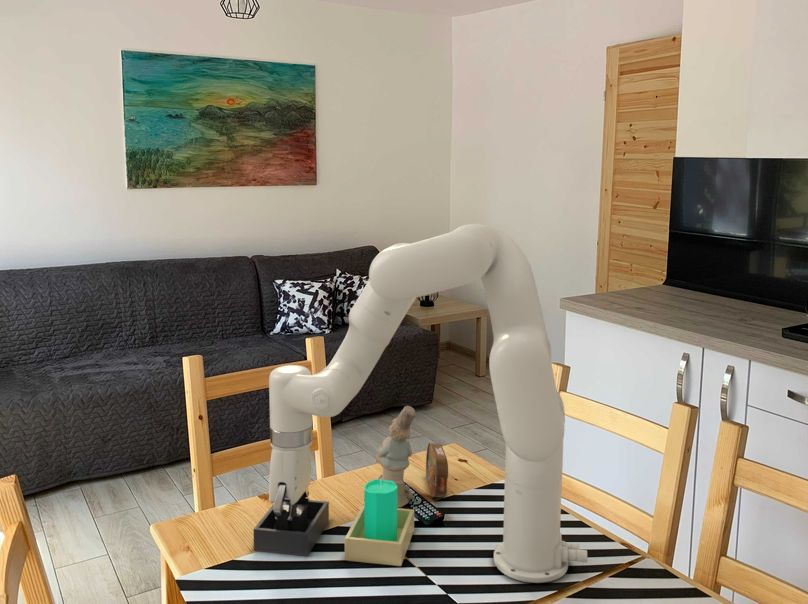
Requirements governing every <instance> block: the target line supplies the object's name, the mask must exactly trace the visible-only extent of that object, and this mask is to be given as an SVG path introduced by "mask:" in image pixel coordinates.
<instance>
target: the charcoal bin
mask: <svg viewBox="0 0 808 604" xmlns="http://www.w3.org/2000/svg"><path fill="white" fill-rule="evenodd" d="M284 501H288V502H290V501H291V500H290V499H289V498H285V499H284ZM273 506H274V503H272V505H271V506H270V508H269V509H268V511H266V513H265V514H264V515H263V516H262V518H261V519H260V520H259V522H258V523H257V524H256V525H255V527H254V528H253V551H255V552H263V553H264V552H265V553H272V554H273V553H275V554H283V555H292V556H300V557H308V556H309V555H310V553H311V552H312V550H313V548H314V547H315V545H316V543H318V540H319V539H320V536H321V535H322V533H324V530H325V529H326V527H327V525H328V524H329V522H330V502H329V501H325V500H315V499H309V518H308V528H307V530H306V531H305V532H296V531H286V530H276V519H275V514H274V511H273Z"/></svg>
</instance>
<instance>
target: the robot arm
mask: <svg viewBox="0 0 808 604" xmlns="http://www.w3.org/2000/svg"><path fill="white" fill-rule="evenodd" d="M478 280H480V281H481V282H482V285H483V288H484V293H485V294H484V295H485V300H486V306H487V309H488V314H489V319H490V324H491V329H492V337H493V341H492V346H491V350H490V353H489V357H488V358H489V359H488V360H489V361H488V368H489V369H488V370H489V375H490V381H491V386H492V391H493V395H494V401H495V406H496V411H497V415H498V420H499V425H500V431H501V434H502V437H503V440H504V442H505V458H504V459H505V460H504V491H503V492H504V493H503V494H504V495H503V501H504V502H503V527H502V529H503V533H502V534H503V535H502V542H501V543H500V544H498V545H497V546H496V547H495V549H494V551H493V563H494V565H495V567H496V568H497V570H498V571H500V572H501V573H502V574H504V575H505V576H507V577H508V578H511V579H514V580H516V581H520V582H524V583H528V584H529V583H530V584H532V583H533V584H545V583H549V582H553V581H557V580H559V579H561V578H562V577H563V576H564V575H565V574H566V573H567V571H568V569H569V561H573V562H577V563H588V550H587V549H580V543H576V542H566V541H565V540H563V539H562V532H561V517H562V490H563V489H562V487H563V466H564V465H563V464H564V437H565V422H566V411H565V409H566V408H565V404H564V400H563V399H562V396H561V394H560V393H559V392H558V390H557V385H556V381H555V375H554V370H553V364H552V345H551V341H550V338H549V337H548V332H547V329H546V324H545V320H544V315H543V311H542V305H541V301H540V298H539V293H538V290H537V285H536V279H535V276H534V273H533V269H532V266H531V263H530V261H529V259H528V257H527V255H526V253H525V252H524V250H523V249H522V247H521V246H520V245H519V244H518V242H516V241H515V240H514V239H513V238H512V237H511V236H510V235H509V234H507V233H506V232H503V231H502V230H499V229H498V228H495V227H492V226H489V225H486V224H482V223H468V224H463V225H461V226H459V227H457V228H455V229H454V230H452V231H450V232H447V233H443V234H440V235H437V236H433V237H430V238H427V239H423V240H419V241H415V242H412V243H409V242H399V243H395V244H393V245H390V246H389V247H387V248H385V249H383V250H381V251H380V252H379V253H377V255H376V256H375V257H374V258H373V260H372V261H371V263H370V266H369V269H368V281H367V282H366V284H365V286H364V288H363V289H362V291H361V292H360V294H359V296H358V298H357V299H356V301H355V302H354V304H353V305H352V307H351V309H350V311H349V314H348V330H347V332H346V334H345V337H344V338H343V341H342V342H341V344H340V345H339V347H338V349H337V351H336V353H335V354H334V355H333V357H332V359H331V361H330V362H329V363H328V365H326V366H325V367H324V368H323V369H322V370H321V371H319V372H317V373H315V374H312V372H311V370H310V369H309V368H308V367H306V366H303V365H299V364H298V365H297V364H288V365H282V366H278V367H276V368H274V369H273V370H272V371H270V374H269V376H268V394H269V396H268V397H269V436H270V437H269V439H270V441H269V442H270V443H269V444H270V447H271V448H272V449H271V454H270V461H269V478H268V479H269V482H268V483H269V485H268V500H269V503H270V504H274V506H273V511H274V514H275V519H276V530H286V531H295V527H294V518H292V516H293V509H294V504H301V505H308V518H309V500H310V498H309V496H310V490H309V486H310V485H311V482H312V455H311V453H312V451H311V446H312V444H313V443H314V437H313V435H314V434H313V433H314V432H313V429H314V428H313V416H315V417H320V418H333V417H335V416H338V415H339V414H341V412H343V410H344V409H345V408H346V407H347V406H348V405H349V404H350V402H351V401H352V400H353V399H354V398H355V397H356V396H357V395H358V393H359V392H361V391H360V390H361V389H362V388H363V386H364V384H365V383H366V381H367V380H368V378H369V376H370V375H371V373H372V371H373V370H374V368H375V366H376V365H377V363H378V361H379V360H380V359H381V356H382V354H383V352H384V351H385V349H386V348H387V346H389V344H390V343H391V340H392V338H393V337H394V335H395V334H396V332H397V330H398V329H399V327H400V325H401V323H402V322H403V320H404V318H406V317H405V316H406V315H407V314H408V311H409V310H410V308H411V307H412V305H413V304H414V302H415V301H416V299H417V298H420V297H424V296H428V295H431V294H436V293H439V292H444V291H447V290H451V289H455V288H458V287H459V288H460V287H462V286H466V285H470V284H472V283H475V282H476V281H478ZM285 498H289V499H290V500H291V501H290V502H288V501H284V499H285ZM283 505H289V509H288V512H287V511H286V510H284V508H283Z"/></svg>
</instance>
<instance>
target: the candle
mask: <svg viewBox="0 0 808 604" xmlns="http://www.w3.org/2000/svg"><path fill="white" fill-rule="evenodd" d="M363 486H364V488H363V489H364V491H363V494H364V495H363V501H364V503H363V505H364V538H365V539H375V540H385V541H395V542H397V485H396V484H395V483H394V482H393V481H386V480H381V478H380V479H378V478H375V479H372V480H370V481H368V482H366V483H365V484H364V485H363Z"/></svg>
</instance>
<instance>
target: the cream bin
mask: <svg viewBox="0 0 808 604" xmlns="http://www.w3.org/2000/svg"><path fill="white" fill-rule="evenodd" d="M414 532H415V509H414V508H413V509H412V508H402V507H399V508H397V542H395V541H385V540H375V539H365V538H364V504H362V505H361V507H360V508H359V511H358V513H357V515H356V516H355V518H354V520H353V522H352V524H351V525H350V527H349V530H348V531H347V533H346V535H345V537H344V561H347V562H357V563H365V564H366V563H367V564H375V565H384V566H385V565H386V566H394V567H395V566H396V567H402V565H403V563H404V560H405V556H406V554H407V551H408V548H409V545H410V543H411V540H412V537H413V534H414Z"/></svg>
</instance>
